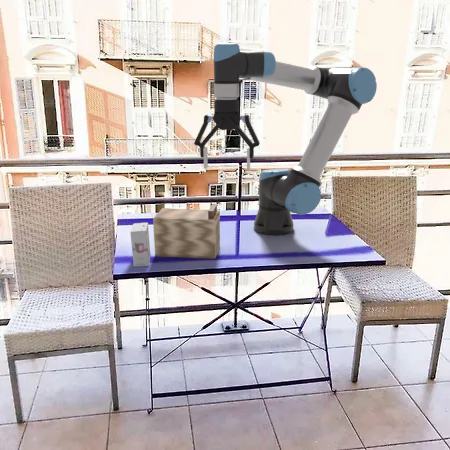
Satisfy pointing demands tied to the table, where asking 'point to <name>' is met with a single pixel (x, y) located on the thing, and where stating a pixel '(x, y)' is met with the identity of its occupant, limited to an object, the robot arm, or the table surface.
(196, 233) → the box
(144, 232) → the ink box
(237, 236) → the table surface
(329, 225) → the table surface
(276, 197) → the robot arm
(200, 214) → the lid
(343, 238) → the table surface
